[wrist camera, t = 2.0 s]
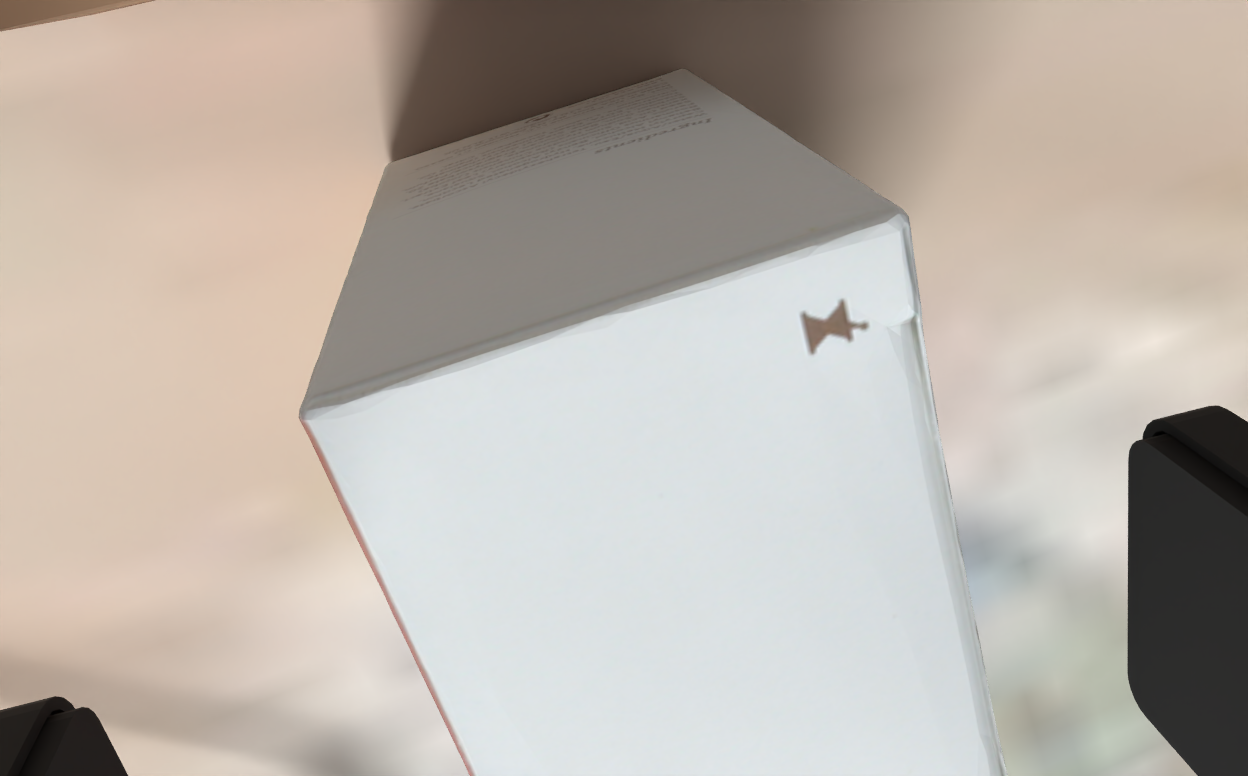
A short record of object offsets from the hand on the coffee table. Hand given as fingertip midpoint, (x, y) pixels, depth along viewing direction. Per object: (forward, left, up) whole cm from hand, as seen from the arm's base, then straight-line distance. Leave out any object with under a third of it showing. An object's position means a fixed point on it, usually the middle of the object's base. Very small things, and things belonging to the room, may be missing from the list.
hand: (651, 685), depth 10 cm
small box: (-1, +1, -11) cm, 11 cm away
